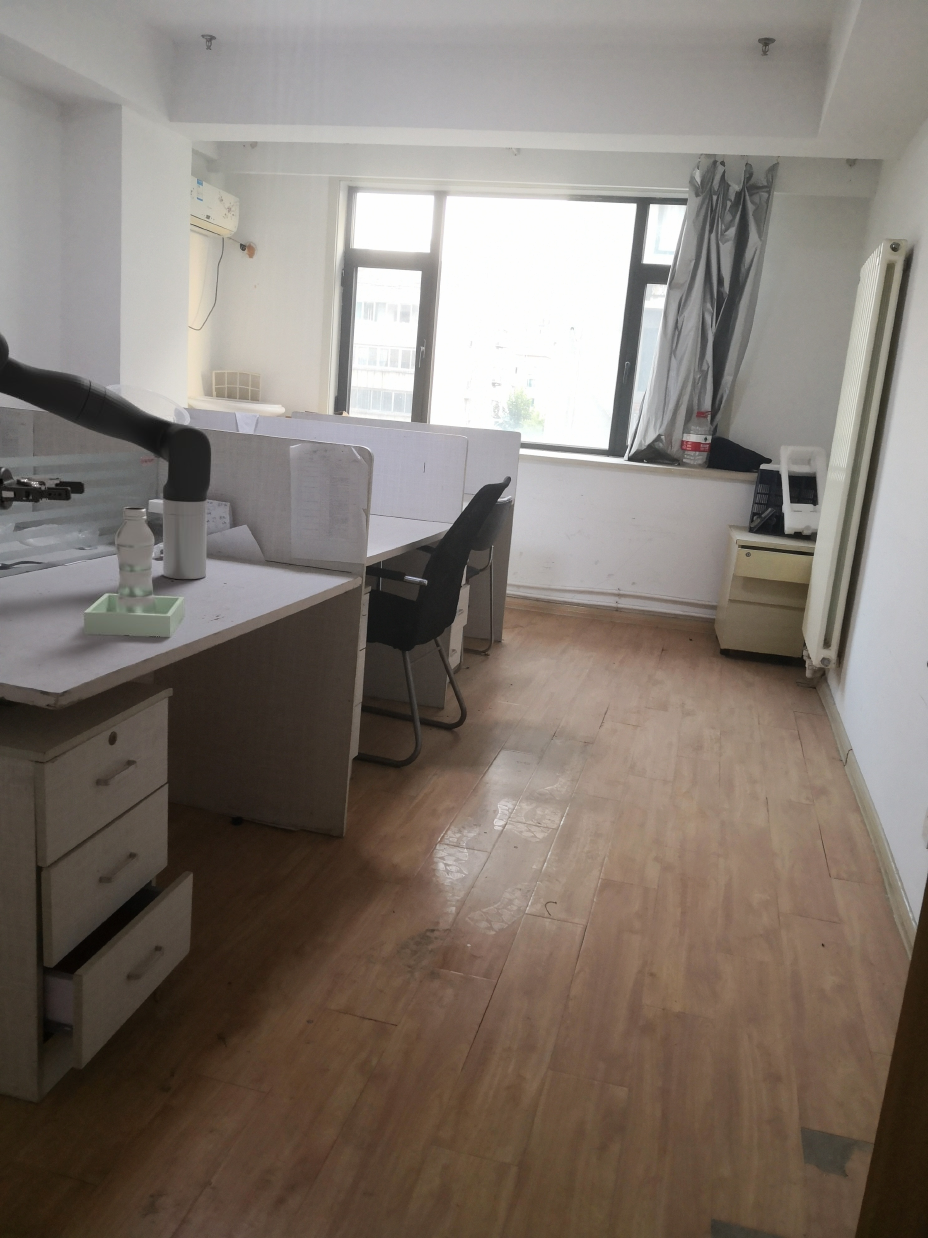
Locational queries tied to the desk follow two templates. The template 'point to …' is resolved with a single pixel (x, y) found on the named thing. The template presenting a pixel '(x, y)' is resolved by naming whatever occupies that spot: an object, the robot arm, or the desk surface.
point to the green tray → (134, 618)
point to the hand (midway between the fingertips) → (77, 490)
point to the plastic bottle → (135, 563)
